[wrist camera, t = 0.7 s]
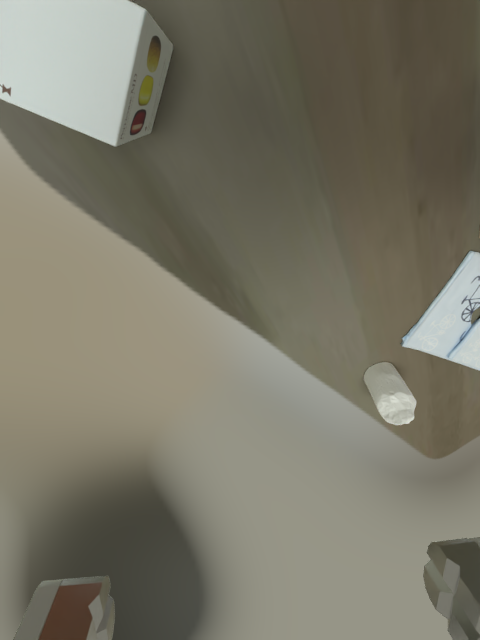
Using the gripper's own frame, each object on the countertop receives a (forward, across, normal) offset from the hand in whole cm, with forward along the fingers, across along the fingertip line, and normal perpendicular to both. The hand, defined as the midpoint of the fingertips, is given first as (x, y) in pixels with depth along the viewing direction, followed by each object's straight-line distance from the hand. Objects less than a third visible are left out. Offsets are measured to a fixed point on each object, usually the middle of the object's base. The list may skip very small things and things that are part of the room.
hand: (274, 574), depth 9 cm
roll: (+49, -28, +20) cm, 60 cm away
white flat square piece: (+46, -42, +9) cm, 63 cm away
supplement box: (+40, +10, -23) cm, 47 cm away
